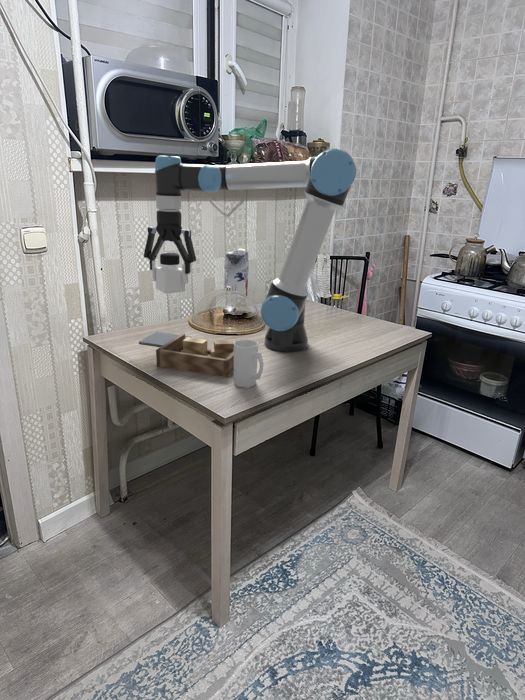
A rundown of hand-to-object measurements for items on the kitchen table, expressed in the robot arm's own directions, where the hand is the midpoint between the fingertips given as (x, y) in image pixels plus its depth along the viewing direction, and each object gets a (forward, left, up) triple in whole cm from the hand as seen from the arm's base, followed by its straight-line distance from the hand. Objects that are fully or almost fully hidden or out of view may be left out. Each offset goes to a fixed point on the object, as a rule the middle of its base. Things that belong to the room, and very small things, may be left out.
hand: (170, 281), depth 153 cm
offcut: (-10, +4, -22) cm, 25 cm away
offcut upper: (-20, +4, -19) cm, 28 cm away
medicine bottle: (0, 0, -3) cm, 3 cm away
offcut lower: (-21, +4, -22) cm, 31 cm away
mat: (+5, -4, -22) cm, 23 cm away
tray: (-15, +9, -22) cm, 28 cm away
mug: (-34, +20, -22) cm, 46 cm away
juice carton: (-5, -47, -22) cm, 52 cm away
